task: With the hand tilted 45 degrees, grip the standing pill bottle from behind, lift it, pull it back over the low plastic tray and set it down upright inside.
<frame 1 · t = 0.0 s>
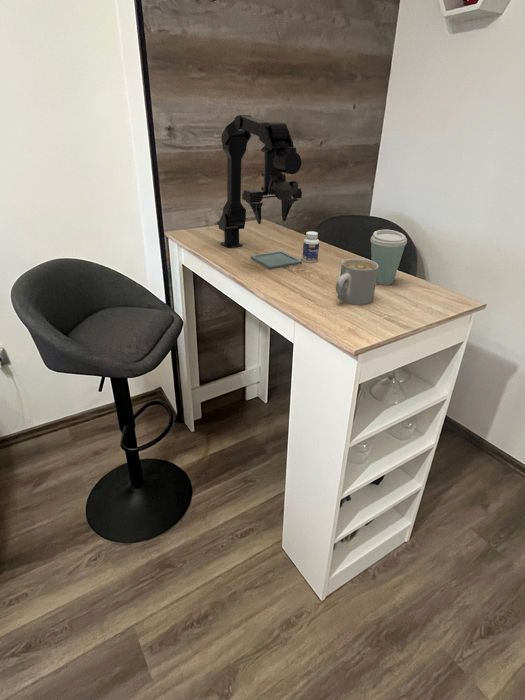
hand: (271, 222, 135), 15 cm above the table, tool pointing down, fingers open, 9 cm apart
coffee mug: (350, 299, 120), on the table
tray: (275, 261, 147), on the table
pill bottle: (309, 261, 149), on the table
disposable coffee cup: (381, 282, 133), on the table
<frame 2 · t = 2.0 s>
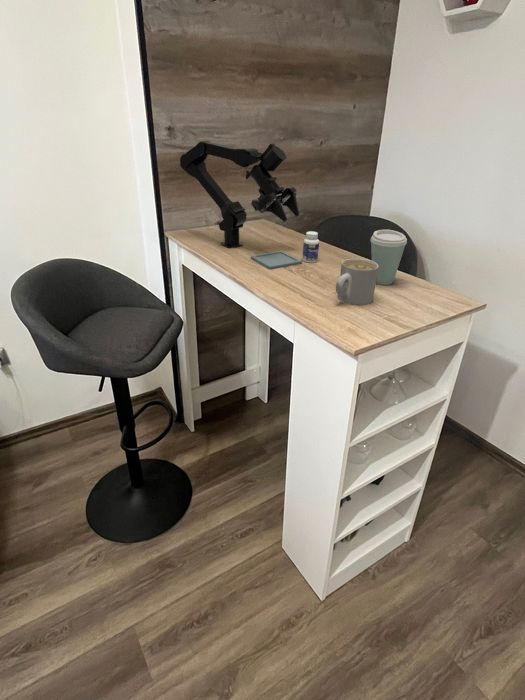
hand: (292, 218, 145), 13 cm above the table, tool tilted 45°, fingers open, 9 cm apart
nothing on the table moved.
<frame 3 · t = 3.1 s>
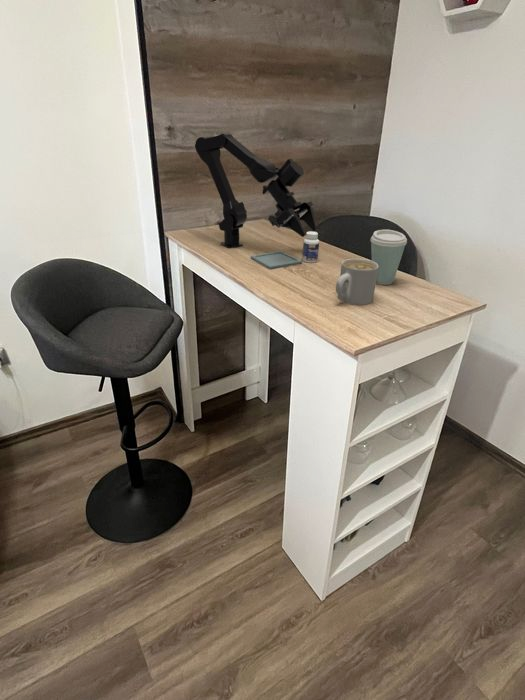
hand: (309, 233, 144), 9 cm above the table, tool tilted 45°, fingers open, 9 cm apart
nothing on the table moved.
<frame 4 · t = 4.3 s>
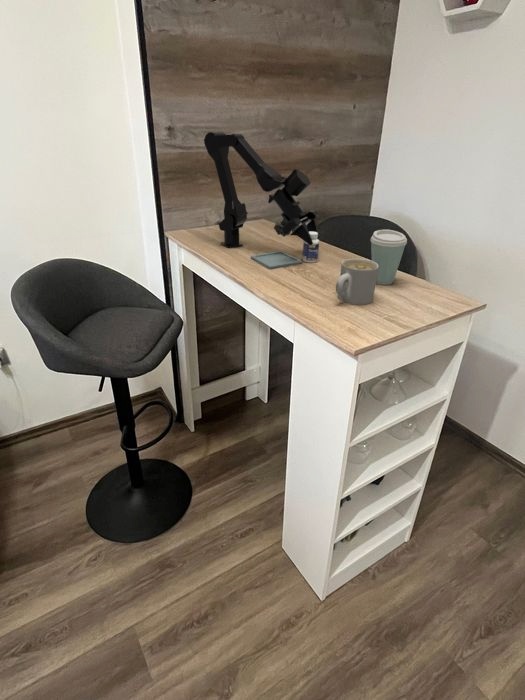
hand: (315, 242, 145), 7 cm above the table, tool tilted 45°, fingers closed on pill bottle, 5 cm apart
pill bottle: (309, 261, 149), on the table, touching gripper
everything else where it was.
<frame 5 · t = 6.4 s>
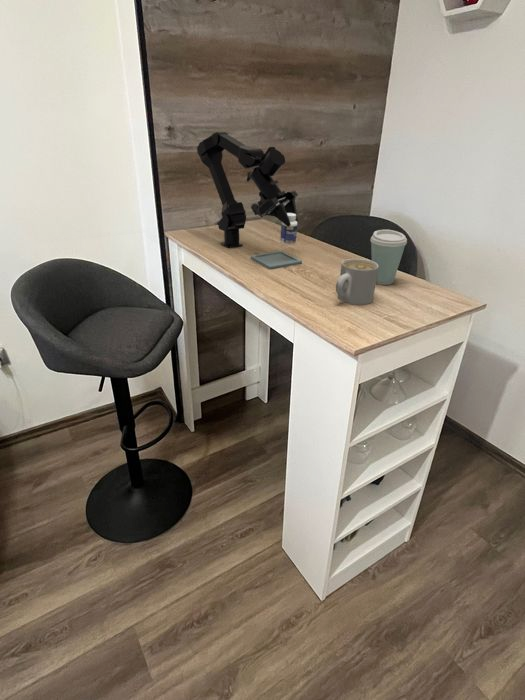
hand: (293, 224, 140), 13 cm above the table, tool tilted 45°, fingers closed on pill bottle, 5 cm apart
pill bottle: (287, 243, 145), point 6 cm above the table, touching gripper
everything else where it was.
when the fingers open (8 cm above the table, at t = 8.4 s): pill bottle stays where it is, resting on tray.
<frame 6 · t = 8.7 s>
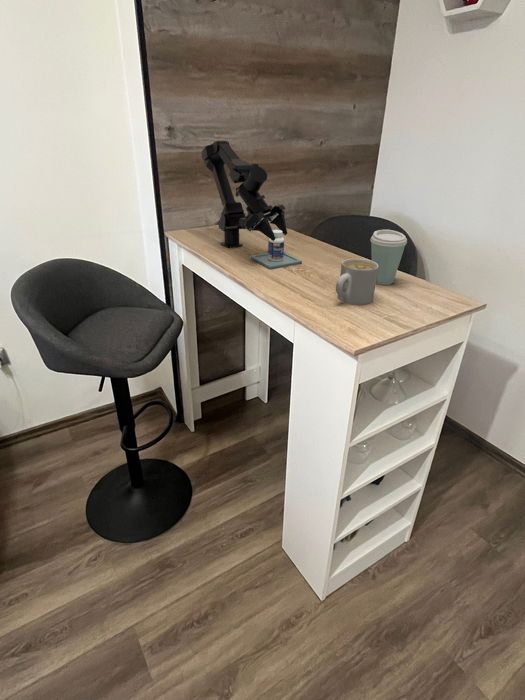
hand: (280, 237, 143), 9 cm above the table, tool tilted 45°, fingers open, 8 cm apart
pill bottle: (275, 259, 147), resting on tray
everything else where it was.
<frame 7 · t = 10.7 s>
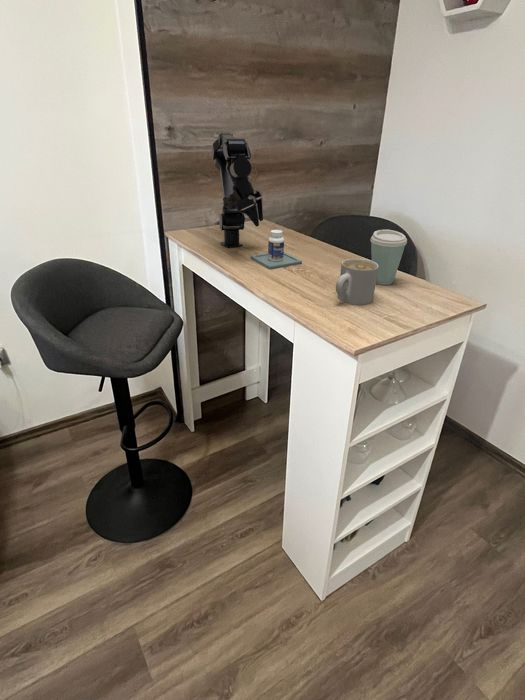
hand: (259, 223, 147), 11 cm above the table, tool tilted 25°, fingers open, 9 cm apart
nothing on the table moved.
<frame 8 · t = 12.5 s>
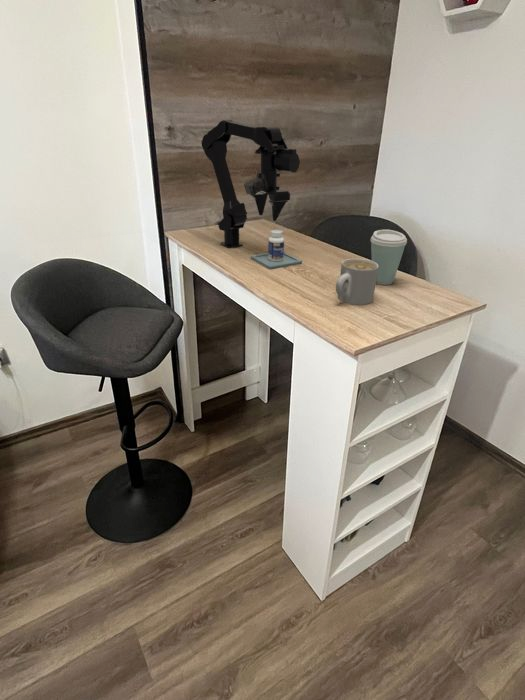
hand: (267, 217, 147), 13 cm above the table, tool pointing down, fingers open, 9 cm apart
nothing on the table moved.
at the end: pill bottle inside the target area on the tray (0.1 cm from its centre), point 0.4 cm above the tray's base; pill bottle tilted 0°; the gripper is holding nothing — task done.
